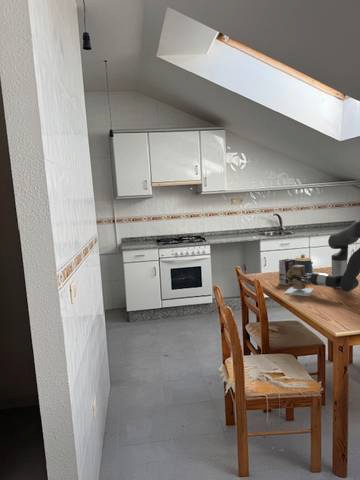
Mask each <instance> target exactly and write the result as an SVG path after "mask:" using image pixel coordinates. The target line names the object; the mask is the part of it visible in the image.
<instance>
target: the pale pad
mask: <svg viewBox="0 0 360 480" xmlns="http://www.w3.org/2000/svg"><path fill="white" fill-rule="evenodd" d="M313 292H314V288H309V287H308V288H307V287H305V289H302V290H298V289H293V286H290V287H288V289H286V290H285V292H284V295H291V296H302V297H310V295H312V293H313Z"/></svg>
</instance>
